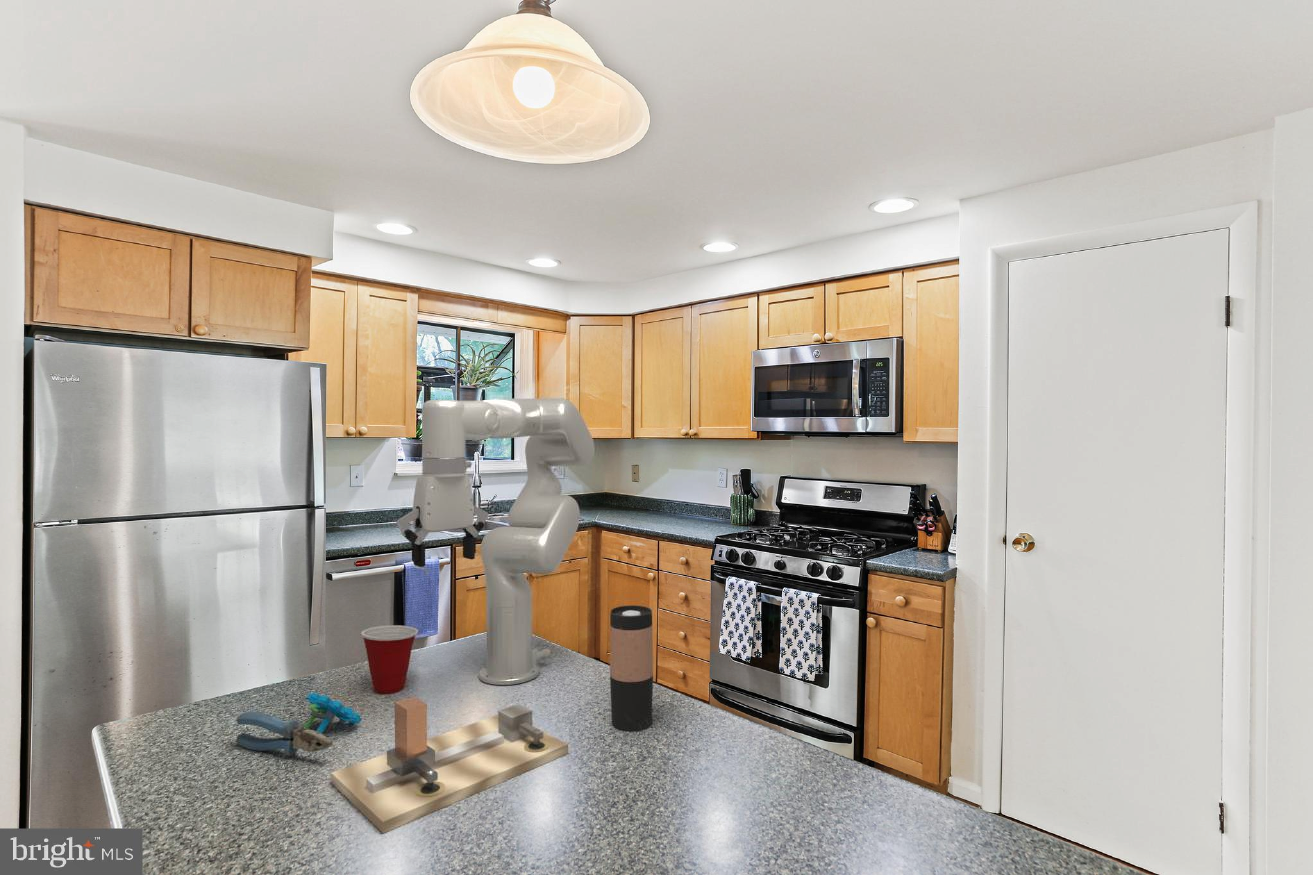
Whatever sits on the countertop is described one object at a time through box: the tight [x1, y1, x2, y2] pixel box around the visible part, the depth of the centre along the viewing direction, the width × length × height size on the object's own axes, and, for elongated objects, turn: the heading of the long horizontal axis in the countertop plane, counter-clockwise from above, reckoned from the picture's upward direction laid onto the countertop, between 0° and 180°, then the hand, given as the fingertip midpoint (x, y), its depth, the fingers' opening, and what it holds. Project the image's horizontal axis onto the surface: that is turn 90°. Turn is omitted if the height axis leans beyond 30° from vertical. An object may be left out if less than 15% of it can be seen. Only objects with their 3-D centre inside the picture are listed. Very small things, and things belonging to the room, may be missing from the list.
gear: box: [302, 692, 362, 735], centre depth 116 cm, size 11×6×10 cm
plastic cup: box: [360, 624, 419, 695], centre depth 135 cm, size 11×11×12 cm
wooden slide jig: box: [330, 703, 569, 834], centre depth 103 cm, size 30×18×6 cm, turn 135°
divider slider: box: [386, 696, 438, 787], centre depth 96 cm, size 5×10×10 cm, turn 45°
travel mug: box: [609, 604, 654, 732], centre depth 119 cm, size 8×8×20 cm
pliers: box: [235, 711, 334, 757], centre depth 108 cm, size 20×2×6 cm, turn 69°
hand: (444, 562), depth 121 cm, fingers open, 9 cm apart
